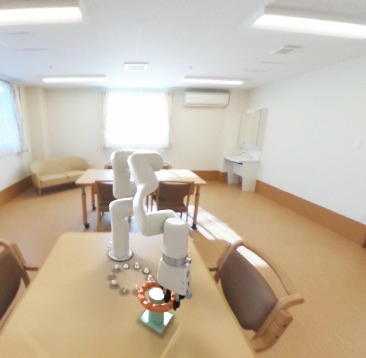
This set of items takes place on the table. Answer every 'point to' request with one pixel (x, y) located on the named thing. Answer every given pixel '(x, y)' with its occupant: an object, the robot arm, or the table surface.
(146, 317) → the mint knob on plate
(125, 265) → the game piece set
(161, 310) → the ring
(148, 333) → the table surface
